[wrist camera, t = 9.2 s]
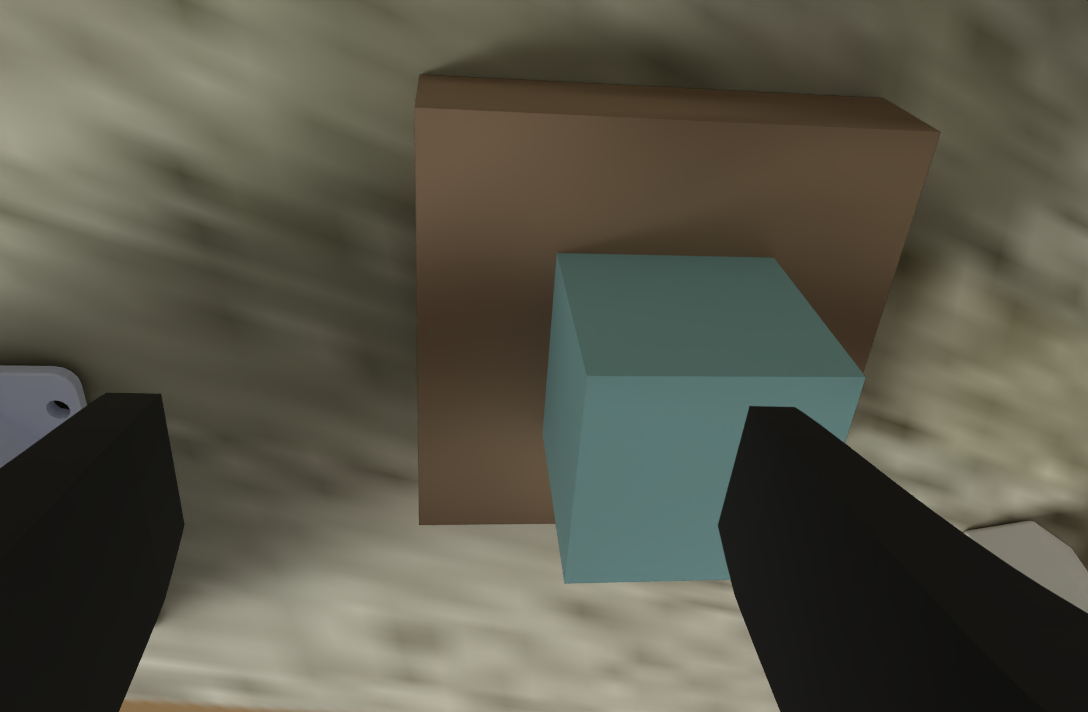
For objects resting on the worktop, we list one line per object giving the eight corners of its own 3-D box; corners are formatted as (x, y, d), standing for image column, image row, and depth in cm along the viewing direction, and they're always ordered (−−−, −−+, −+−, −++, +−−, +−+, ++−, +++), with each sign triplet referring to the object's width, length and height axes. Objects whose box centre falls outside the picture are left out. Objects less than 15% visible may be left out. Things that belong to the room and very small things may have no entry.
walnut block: (782, 459, 23) (815, 520, 21) (422, 459, 22) (418, 525, 20) (883, 98, 18) (940, 131, 16) (420, 74, 17) (414, 107, 15)
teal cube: (733, 433, 19) (802, 577, 16) (542, 434, 19) (564, 583, 15) (773, 257, 17) (866, 377, 13) (556, 253, 16) (587, 376, 13)
